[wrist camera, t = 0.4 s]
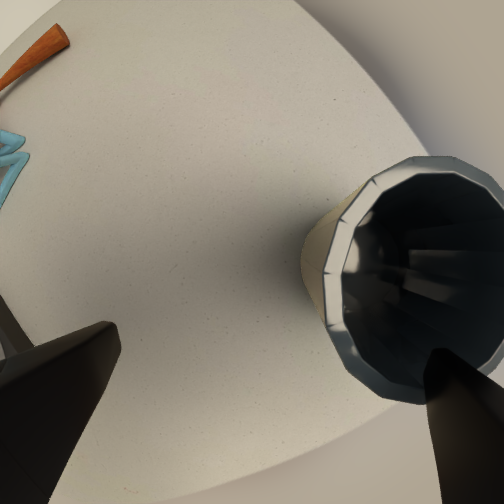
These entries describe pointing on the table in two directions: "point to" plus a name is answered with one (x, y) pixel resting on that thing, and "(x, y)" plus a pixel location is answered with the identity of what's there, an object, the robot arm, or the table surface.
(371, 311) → the cup
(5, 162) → the chair
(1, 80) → the kendama
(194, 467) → the table surface
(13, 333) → the scale
